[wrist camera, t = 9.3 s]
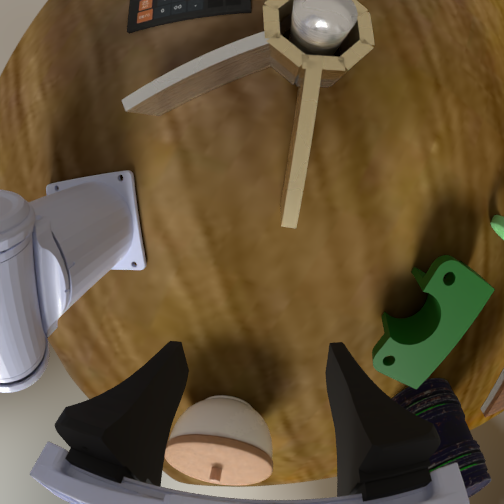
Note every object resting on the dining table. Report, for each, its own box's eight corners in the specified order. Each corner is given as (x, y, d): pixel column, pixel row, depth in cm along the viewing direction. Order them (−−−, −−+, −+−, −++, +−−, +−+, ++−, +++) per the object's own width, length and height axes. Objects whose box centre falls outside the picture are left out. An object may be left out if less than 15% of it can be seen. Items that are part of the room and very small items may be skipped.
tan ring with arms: (163, 211, 21) (133, 232, 16) (155, 30, 15) (124, 7, 11) (354, 207, 19) (376, 229, 15) (346, 18, 14) (365, -11, 10)
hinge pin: (290, 68, 16) (297, 33, 10) (285, 32, 15) (289, -16, 9) (334, 68, 16) (362, 36, 9) (328, 31, 15) (351, -13, 8)
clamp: (408, 245, 24) (453, 232, 16) (449, 272, 23) (501, 269, 15) (354, 352, 24) (381, 383, 16) (399, 374, 23) (437, 407, 15)
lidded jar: (192, 367, 26) (166, 444, 18) (291, 397, 27) (292, 474, 18) (174, 417, 30) (154, 478, 22) (254, 441, 31) (248, 502, 22)
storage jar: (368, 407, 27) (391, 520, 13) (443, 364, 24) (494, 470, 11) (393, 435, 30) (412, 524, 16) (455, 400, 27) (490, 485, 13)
